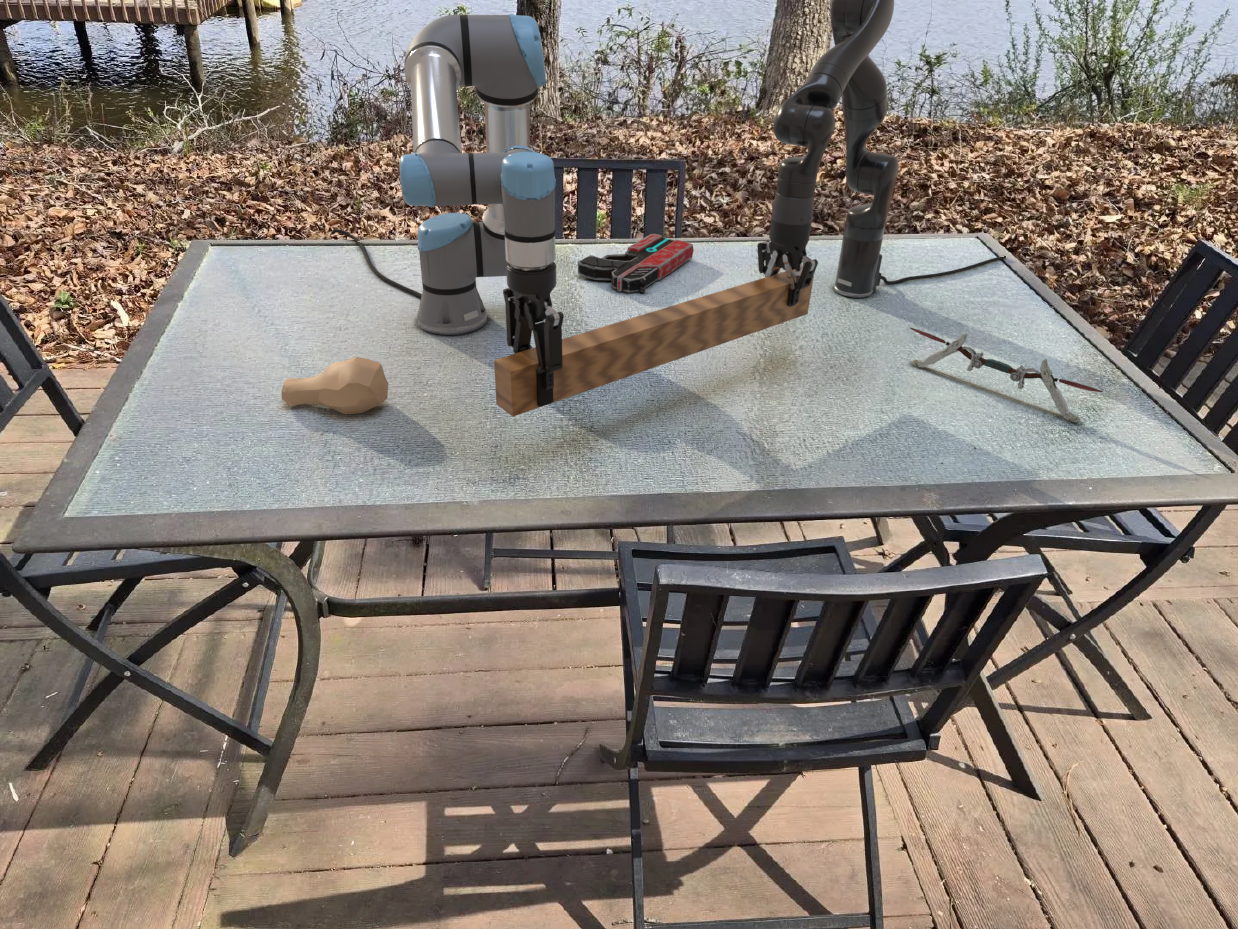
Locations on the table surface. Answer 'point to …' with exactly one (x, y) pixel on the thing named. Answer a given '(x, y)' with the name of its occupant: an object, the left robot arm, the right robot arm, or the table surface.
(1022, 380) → the bow
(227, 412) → the table surface
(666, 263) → the gun
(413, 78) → the left robot arm
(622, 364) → the post
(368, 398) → the squash
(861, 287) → the right robot arm
